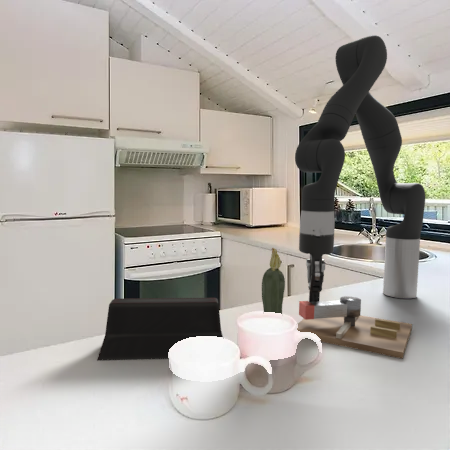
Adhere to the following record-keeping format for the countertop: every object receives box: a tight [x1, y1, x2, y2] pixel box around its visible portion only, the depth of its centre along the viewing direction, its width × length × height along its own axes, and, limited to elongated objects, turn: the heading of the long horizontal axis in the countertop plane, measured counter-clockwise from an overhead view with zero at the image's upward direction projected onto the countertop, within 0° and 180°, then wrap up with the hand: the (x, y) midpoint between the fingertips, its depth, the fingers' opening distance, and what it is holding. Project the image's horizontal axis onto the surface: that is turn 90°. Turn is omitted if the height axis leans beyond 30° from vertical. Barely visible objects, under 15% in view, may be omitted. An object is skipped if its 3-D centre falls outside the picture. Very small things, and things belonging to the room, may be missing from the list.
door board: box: [297, 314, 413, 360], centre depth 86 cm, size 18×22×3 cm
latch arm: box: [298, 295, 362, 320], centre depth 86 cm, size 14×4×3 cm, turn 102°
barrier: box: [96, 297, 224, 362], centre depth 75 cm, size 24×9×10 cm, turn 95°
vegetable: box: [261, 247, 286, 315], centre depth 74 cm, size 4×4×20 cm
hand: (313, 306), depth 89 cm, fingers closed
